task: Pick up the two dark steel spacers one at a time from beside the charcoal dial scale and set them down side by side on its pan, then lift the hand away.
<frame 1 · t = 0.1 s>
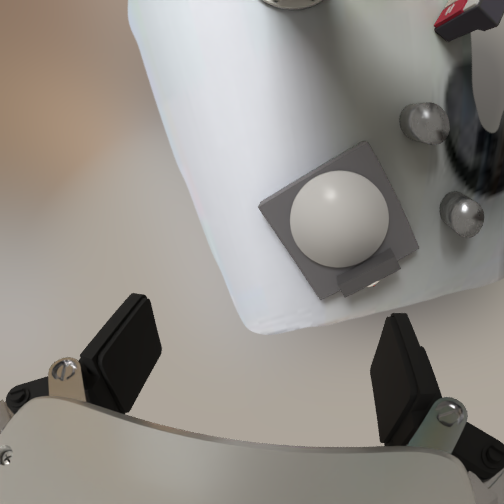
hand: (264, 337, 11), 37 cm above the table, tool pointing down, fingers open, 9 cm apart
scale: (342, 221, 46), on the table
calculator: (450, 17, 28), on the table
spacer b: (453, 208, 42), on the table
spacer a: (416, 122, 38), on the table
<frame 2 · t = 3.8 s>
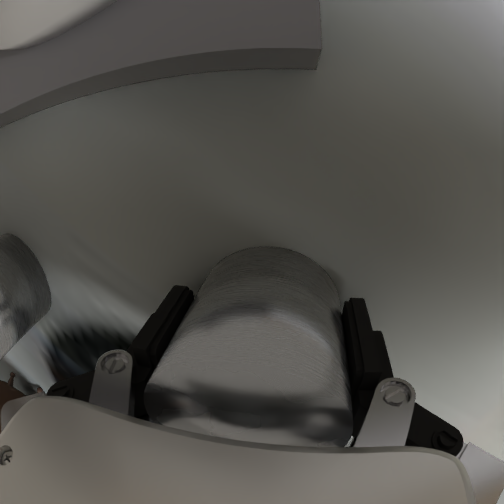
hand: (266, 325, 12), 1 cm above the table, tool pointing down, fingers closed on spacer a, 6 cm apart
alarm clock: (40, 398, 24), on the table
spacer b: (21, 276, 15), on the table
spacer a: (269, 311, 13), on the table, touching gripper
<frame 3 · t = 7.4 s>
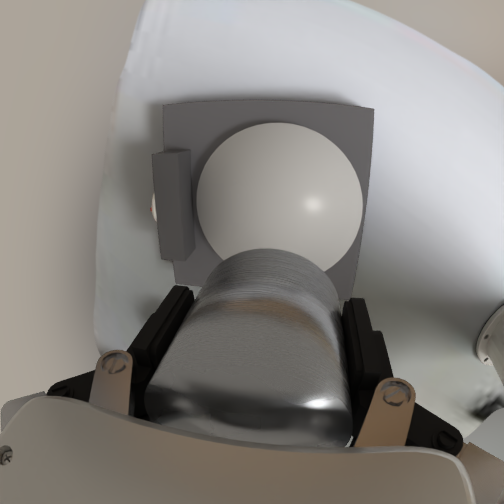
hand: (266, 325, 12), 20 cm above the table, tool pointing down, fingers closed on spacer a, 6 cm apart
scale: (266, 196, 30), on the table
spacer a: (269, 312, 13), point 19 cm above the table, touching gripper
when the fingers open (6 cm above the table, at t = 10.8 s): spacer a drops 1 cm, resting on scale.
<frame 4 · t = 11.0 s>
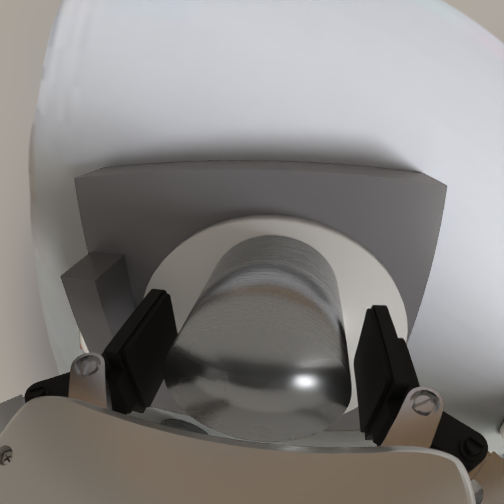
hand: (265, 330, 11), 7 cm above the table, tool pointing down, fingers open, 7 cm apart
scale: (254, 310, 19), on the table
spacer b: (185, 433, 29), on the table
spacer a: (273, 295, 14), point 4 cm above the table, touching scale
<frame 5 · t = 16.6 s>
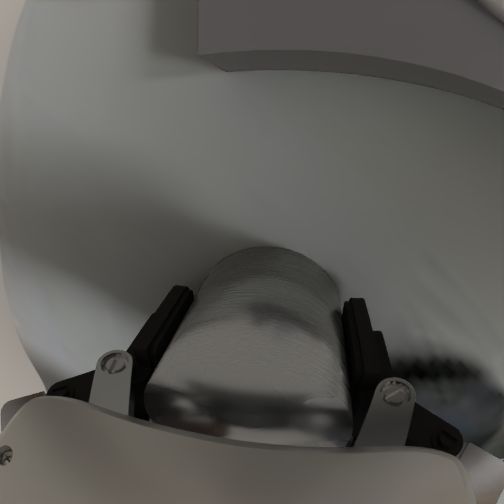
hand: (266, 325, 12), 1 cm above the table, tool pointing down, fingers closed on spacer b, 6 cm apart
spacer b: (269, 311, 13), on the table, touching gripper
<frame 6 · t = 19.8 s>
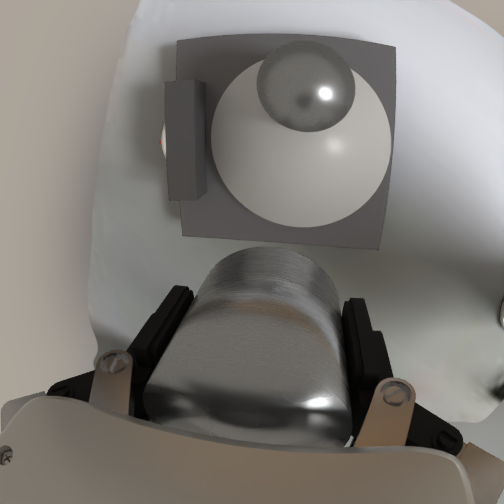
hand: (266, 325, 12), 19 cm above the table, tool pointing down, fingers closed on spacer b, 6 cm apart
scale: (285, 136, 26), on the table
spacer b: (268, 311, 13), point 18 cm above the table, touching gripper
spacer a: (304, 93, 21), point 4 cm above the table, touching scale
when the fingers open (6 cm above the table, at t = 23.0 s): spacer b drops 1 cm, resting on scale.
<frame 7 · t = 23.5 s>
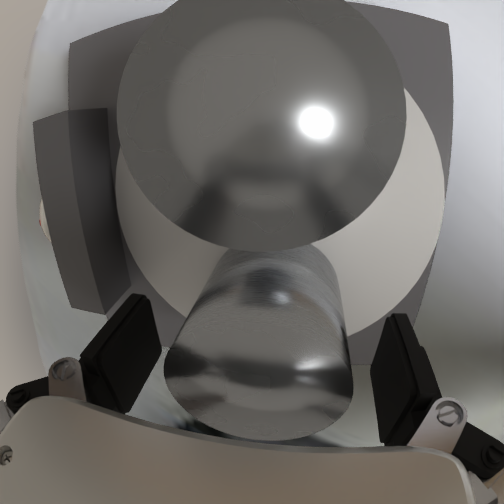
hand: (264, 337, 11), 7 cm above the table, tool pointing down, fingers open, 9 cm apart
scale: (252, 187, 16), on the table
spacer b: (274, 293, 14), point 4 cm above the table, touching scale
spacer a: (276, 114, 11), point 4 cm above the table, touching scale
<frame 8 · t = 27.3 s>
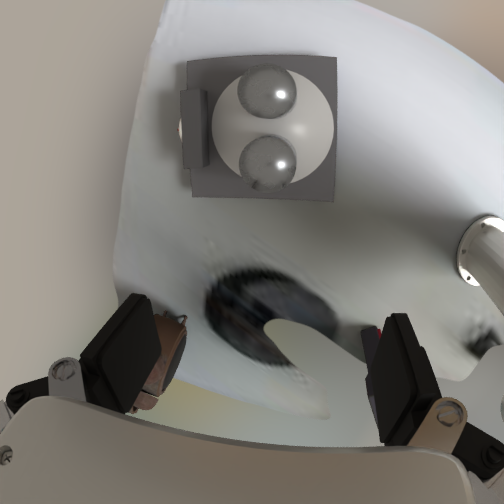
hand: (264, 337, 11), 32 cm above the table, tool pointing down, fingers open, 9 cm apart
alarm clock: (175, 327, 56), on the table
scale: (263, 125, 38), on the table
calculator: (374, 347, 50), on the table
spacer b: (272, 158, 35), point 4 cm above the table, touching scale
spacer a: (272, 95, 32), point 4 cm above the table, touching scale
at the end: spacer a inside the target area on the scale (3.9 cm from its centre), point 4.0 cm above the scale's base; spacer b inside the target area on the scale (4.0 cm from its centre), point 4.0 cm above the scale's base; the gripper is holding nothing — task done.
